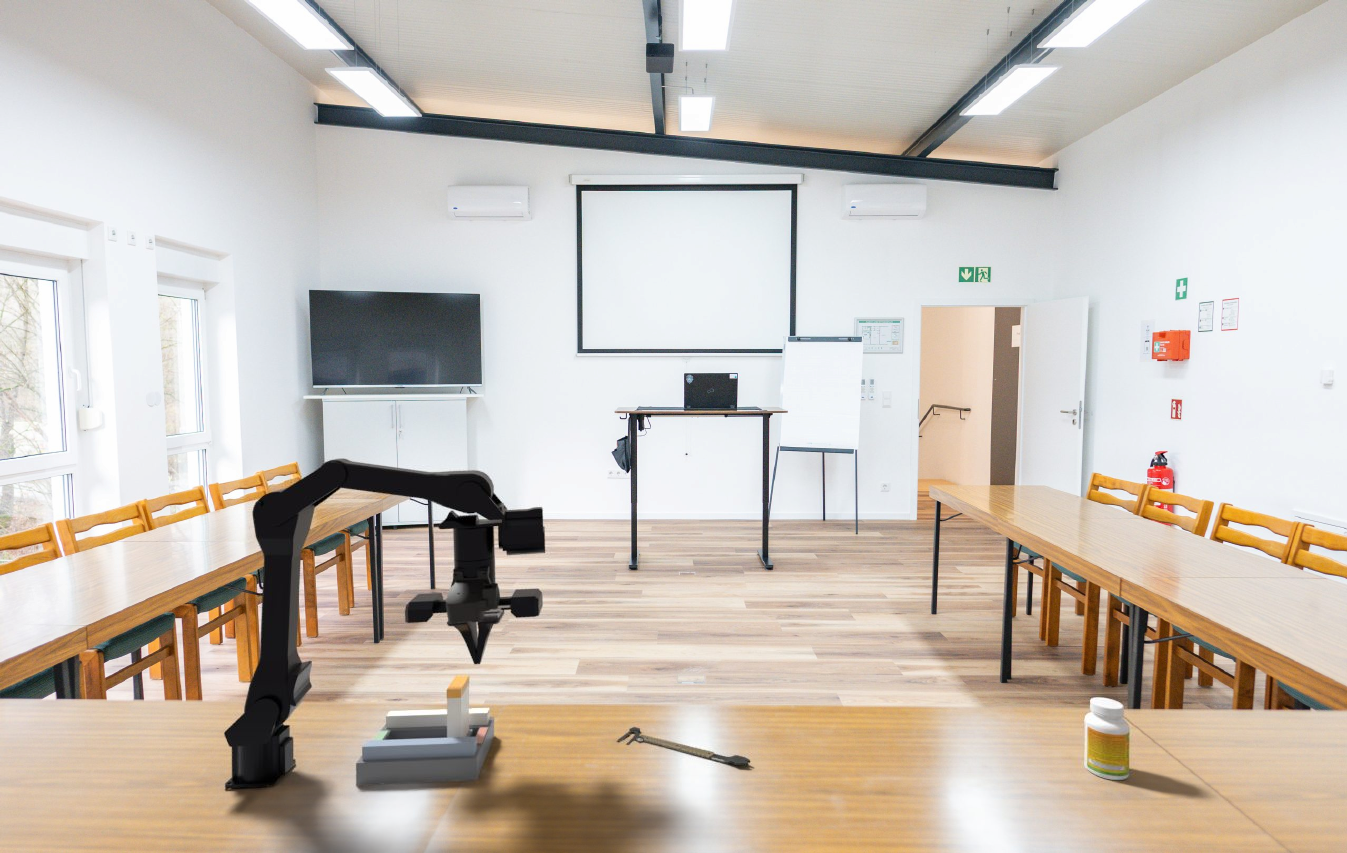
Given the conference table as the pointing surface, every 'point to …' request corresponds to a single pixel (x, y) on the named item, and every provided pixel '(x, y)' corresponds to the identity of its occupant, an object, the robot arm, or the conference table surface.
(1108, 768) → the supplement bottle
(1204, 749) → the conference table surface
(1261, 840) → the conference table surface
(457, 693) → the handle
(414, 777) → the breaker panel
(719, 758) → the tactical tomahawk
